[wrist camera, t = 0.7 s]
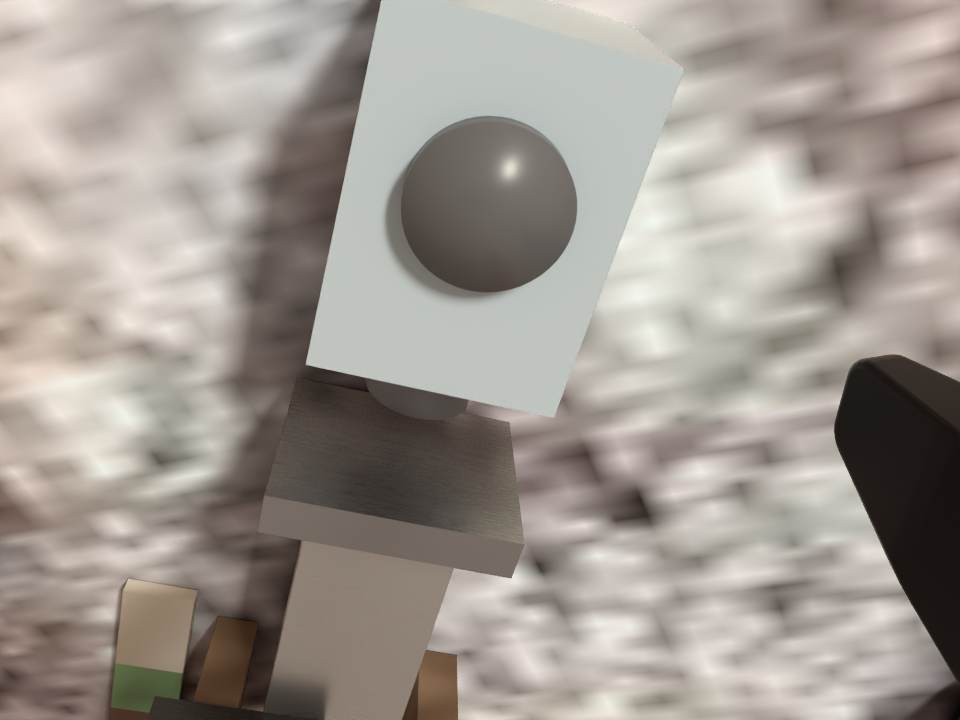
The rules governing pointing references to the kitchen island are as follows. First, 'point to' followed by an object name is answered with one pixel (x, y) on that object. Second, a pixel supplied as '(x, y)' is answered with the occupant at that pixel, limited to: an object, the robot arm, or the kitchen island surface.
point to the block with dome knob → (485, 199)
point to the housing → (222, 658)
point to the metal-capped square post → (372, 548)
